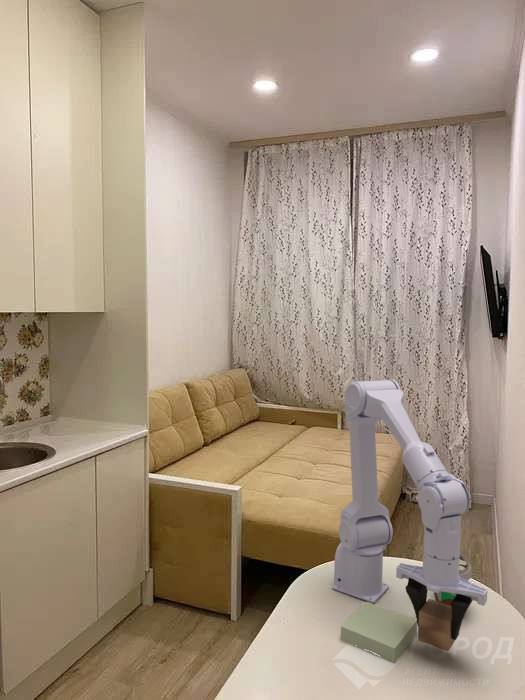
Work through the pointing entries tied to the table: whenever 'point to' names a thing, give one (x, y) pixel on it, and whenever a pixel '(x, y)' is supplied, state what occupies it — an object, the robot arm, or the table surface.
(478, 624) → the table surface
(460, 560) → the food container
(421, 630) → the walnut cube
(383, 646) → the sage base block
